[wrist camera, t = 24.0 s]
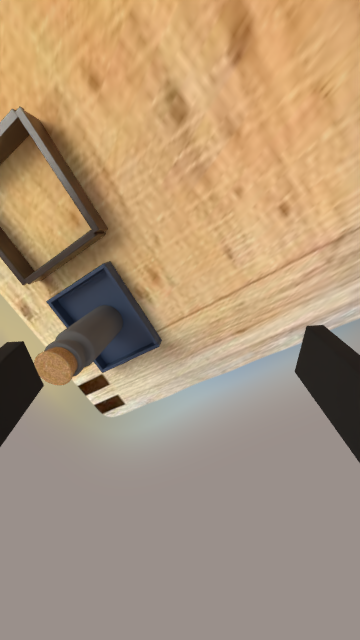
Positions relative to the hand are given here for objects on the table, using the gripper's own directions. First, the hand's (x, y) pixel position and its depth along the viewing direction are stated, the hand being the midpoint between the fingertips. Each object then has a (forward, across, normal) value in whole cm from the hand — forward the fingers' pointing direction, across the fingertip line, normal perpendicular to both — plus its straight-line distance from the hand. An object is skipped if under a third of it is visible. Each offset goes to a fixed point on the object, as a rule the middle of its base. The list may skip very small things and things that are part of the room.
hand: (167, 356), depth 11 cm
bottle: (+27, -12, -12) cm, 32 cm away
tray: (+27, -12, -12) cm, 32 cm away
